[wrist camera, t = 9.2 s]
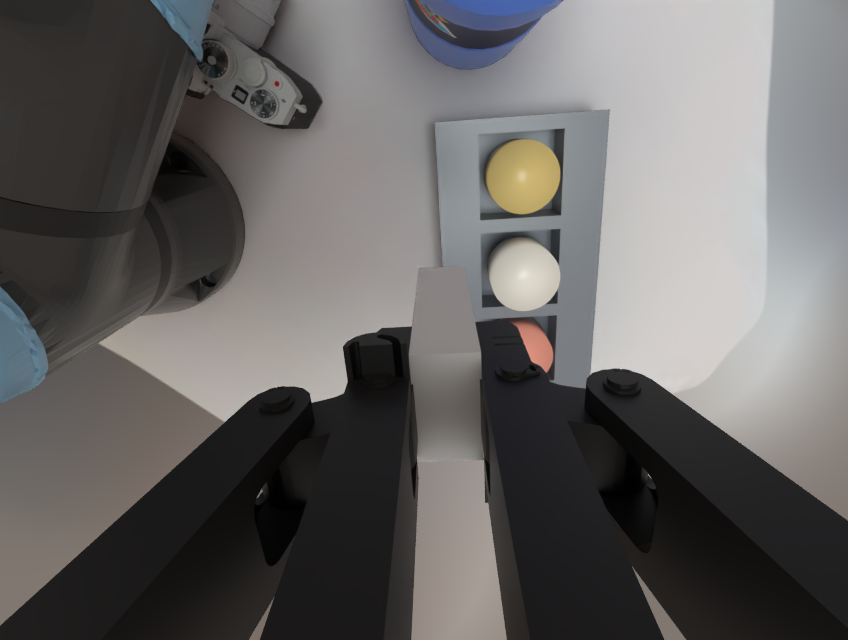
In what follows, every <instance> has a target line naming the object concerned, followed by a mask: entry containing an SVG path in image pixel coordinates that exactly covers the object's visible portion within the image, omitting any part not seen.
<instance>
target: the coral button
mask: <svg viewBox="0 0 848 640" xmlns="http://www.w3.org/2000/svg"><path fill="white" fill-rule="evenodd" d="M501 320H507V321H509V322H510V323H512V324H514V325H515V326H517V327H518V330H519V332H520V335H521V337H522V339H523V342H524V344H525V347H526V349H527V352H528V354H529V357H530V359H531V361H532V362H533V363H535V364H537V365H539V366H541V367H542V368H543V369H544V371H545V372H546V373H547V371H548V370H549V368H550V367H551V364H552V361H553V350H552V346H551V344H550V342H549V340H548V339H547V337H546V335H545V333H544V331H543V329H542V327H541V326H540V324H539V323H538V322H537V321H536V320H534V319H533V318H531V317H515V318H502V319H500V320H499V321H501Z"/></svg>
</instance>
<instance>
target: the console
mask: <svg viewBox="0 0 848 640" xmlns="http://www.w3.org/2000/svg"><path fill="white" fill-rule="evenodd" d="M609 113H610V109H609V110H595V111H582V112H568V113H555V114H541V115H527V116H514V117H500V118H487V119H473V120H460V121H446V122H435V138H436V156H437V174H438V193H439V211H440V229H441V247H442V266H443V267H450V266H464V270H465V275H466V280H467V285H468V290H469V294H470V299H471V304H472V309H473V314H474V319H475V322H483V321H499V320H500V319H502V318H515V317H531V318H533V319H534V320H536V321H537V322H538V323H539V324H540V326H541V327H542V329H543V331H544V333H545V335H546V337H547V339H548V340H549V342H550V344H551V346H552V350H553V361H552V364H551V367H550V368H549V370H548V371H547V373H546V374H547V376H548V379H549V381H550V382H553V383H556V384H559V385H564V386H570V387H578V388H586V381H587V378H588V377H589V376H590V370H591V357H592V343H593V330H594V316H595V303H596V289H597V276H598V262H599V248H600V235H601V221H602V208H603V194H604V181H605V167H606V154H607V140H608V127H609ZM512 139H529V140H535V141H538V142H541V143H543V144H544V145H546V146H547V147H549V148H550V149H551V150H552V152H553V153H554V154H555V156H556V158H557V160H558V162H559V166H560V182H559V186H558V189H557V191H556V193H555V195H554V196H553V198H552V199H551V200H550V201H549V202H548V203H547V204H546V205H545V206H544V207H542V208H541V209H539V210H537V211H535V212H532V213H529V214H514V213H511V212H508V211H506V210H504V209H503V208H501V207H500V206H499V205H498V204H497V203H496V202H495V201H494V199H493V198H492V197H491V196H490V194H489V193H488V191H487V189H486V186H485V182H484V168H485V164H486V162H487V159H488V157H489V156H490V154H491V153H492V152H493V150H494V149H495V148H496V147H498V146H499V145H500V144H502V143H504V142H506V141H508V140H512ZM514 236H527V237H531V238H533V239H536V240H537V241H539V242H540V243H541V244H542V245H543V246H544V247H545V248H546V249H547V250H548V251H549V252H550V253H551V255H552V256H553V257H554V258H555V260H556V261H557V263H558V265H559V269H560V283H559V287H558V289H557V291H556V293H555V295H554V296H553V297H552V298H551V299H550V301H548V302H547V303H546V304H545V305H543V306H541V307H539V308H537V309H534V310H530V311H516V310H512V309H510V308H508V307H506V306H504V305H503V304H502V303H501V302H500V301H499V300H498V299H497V298H496V296H495V294H494V292H493V289H492V287H491V284H490V281H489V278H488V274H487V263H488V259H489V256H490V254H491V252H492V251H493V249H494V248H495V247H496V246H497V245H498V244H499V243H501V242H502V241H504V240H506V239H508V238H510V237H514Z"/></svg>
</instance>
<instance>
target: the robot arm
mask: <svg viewBox="0 0 848 640" xmlns="http://www.w3.org/2000/svg"><path fill="white" fill-rule="evenodd" d="M213 1H214V0H0V403H2V402H5V401H7V400H9V399H11V398H13V397H15V396H17V395H19V394H21V393H24V392H27V391H30V390H31V389H33V388H34V387H36V386H38V385H39V384H40V382H41V381H43V380H44V378H45V377H46V376H48V375H49V374H51V373H52V372H54V371H55V370H57V369H59V368H60V367H62V366H63V365H65V364H66V363H68V362H69V361H71V360H72V359H74V358H76V357H77V356H79V355H80V354H81V353H83V352H85V351H86V350H88V349H90V348H91V347H93V346H94V345H96V344H97V343H99V342H100V341H102V340H104V339H105V338H107V337H108V336H110V335H111V334H113V333H114V332H116V331H118V330H119V329H121V328H122V327H124V326H125V325H127V324H128V323H130V322H131V321H133V320H135V319H136V318H137V317H139V316H143V315H151V314H160V313H169V312H176V311H181V310H184V309H187V308H190V307H193V306H195V305H197V304H199V303H201V302H203V301H204V300H206V299H207V298H209V297H210V296H211V295H213V294H214V293H216V292H217V291H218V290H219V289H221V288H222V287H223V286H224V285H225V284H226V283H227V282H228V281H229V279H230V278H231V277H232V275H233V274H234V272H235V270H236V268H237V266H238V264H239V262H240V259H241V256H242V252H243V247H244V221H243V215H242V211H241V207H240V204H239V201H238V199H237V196H236V194H235V192H234V190H233V188H232V186H231V184H230V182H229V181H228V179H227V177H226V176H225V174H224V173H223V172H222V170H221V169H220V168H219V167H218V165H217V164H216V163H215V162H214V161H213V160H212V159H211V158H210V157H209V156H208V155H207V154H206V153H205V152H204V151H202V150H201V149H200V148H199V147H197V146H196V145H195V144H193V143H192V142H190V141H189V140H187V139H185V138H184V137H182V136H180V135H178V134H176V133H173V132H172V131H173V128H174V126H175V123H176V120H177V117H178V114H179V111H180V109H181V106H182V103H183V100H184V97H185V94H186V92H187V89H188V86H189V83H190V80H191V77H192V75H193V72H194V69H195V66H196V63H197V61H198V62H201V60H202V58H203V49H202V46H201V44H202V40H203V36H204V33H205V29H206V26H207V22H208V19H209V15H210V11H211V8H212V4H213ZM343 351H344V358H345V365H346V371H347V378H348V383H347V386H346V389H345V392H344V394H342V395H340V396H337V397H334V398H331V399H327V400H323V401H318V402H314V403H311V398H310V394H309V392H307V391H306V390H305V389H303V388H298V387H285V386H282V387H277V388H276V387H275V388H272V389H269V390H267V391H265V392H263V393H260V394H258V395H256V396H255V397H254V398H252V399H251V400H249V401H248V402H247V403H246V404H245V405H244V406H242V407H241V408H240V409H239V410H238V411H237V412H236V413H235V414H234V415H233V416H231V417H230V418H229V419H228V420H227V421H226V422H225V423H224V424H223V425H221V426H220V427H219V428H218V429H217V430H216V431H215V432H214V433H213V434H212V435H210V436H209V437H208V438H207V439H206V440H205V441H204V442H203V443H202V444H200V445H199V446H198V447H197V448H196V449H195V450H194V451H193V452H192V453H191V454H189V455H188V456H187V457H186V458H185V459H184V460H183V461H182V462H181V463H179V464H178V465H177V466H176V467H175V468H174V469H173V470H172V471H171V472H170V473H169V474H167V475H166V476H165V477H164V478H163V479H162V480H161V481H160V482H159V483H157V484H156V485H155V486H154V487H153V488H152V489H151V490H150V491H149V492H147V494H145V495H144V496H143V497H142V498H141V499H140V500H139V501H137V503H135V504H134V505H133V506H132V507H131V508H130V509H129V510H128V511H127V512H125V513H124V514H123V515H122V516H121V517H120V518H119V519H118V520H117V521H115V522H114V523H113V524H112V525H111V526H110V527H109V528H108V529H107V530H105V531H104V532H103V533H102V534H101V535H100V536H99V537H98V538H97V539H96V540H94V542H92V543H91V544H90V545H89V546H88V547H87V548H86V549H85V550H83V551H82V552H81V553H80V554H79V555H78V556H77V557H76V558H75V559H73V560H72V561H71V562H70V563H69V564H68V565H67V566H66V567H65V568H63V569H62V570H61V571H60V572H59V573H58V574H57V575H56V576H55V577H54V578H52V579H51V580H50V581H49V582H48V583H47V584H46V585H45V586H44V587H43V588H42V589H40V590H39V591H38V592H37V593H36V594H35V595H34V596H33V597H32V598H30V599H29V600H28V601H27V602H26V603H25V604H24V605H23V606H22V607H20V608H19V609H18V610H17V611H16V612H15V613H14V614H13V615H12V616H11V617H9V618H8V619H7V620H6V621H5V622H4V623H3V624H2V625H1V626H0V640H249V638H250V636H251V635H252V633H253V631H254V630H255V628H256V626H257V625H258V623H259V621H260V620H261V618H262V616H263V615H264V613H265V611H266V610H267V608H268V606H269V605H270V603H271V601H272V600H273V598H274V600H273V603H272V606H271V609H270V612H269V615H268V618H267V621H266V623H265V626H264V629H263V632H262V635H261V638H260V640H411V632H412V631H411V630H412V610H413V588H414V565H415V545H416V544H415V542H416V522H417V500H418V479H419V478H418V466H417V455H418V462H419V463H420V462H446V461H471V460H484V471H485V502H486V503H488V504H489V511H490V518H491V526H492V533H493V540H494V548H495V555H496V563H497V570H498V577H499V584H500V591H501V599H502V606H503V614H504V621H505V629H506V636H507V640H664V638H663V636H662V633H661V631H660V629H659V627H658V625H657V622H656V620H655V618H654V615H653V613H652V611H651V609H650V606H649V604H648V602H647V600H646V597H645V595H644V593H643V591H642V588H641V586H640V584H639V582H638V579H637V577H636V575H635V572H634V570H633V568H634V569H635V571H636V572H637V573H638V575H639V576H640V577H641V579H642V580H643V581H644V583H645V584H646V585H647V587H648V588H649V590H650V591H651V592H652V594H653V595H654V596H655V598H656V599H657V600H658V602H659V603H660V604H661V606H662V607H663V608H664V610H665V611H666V613H667V614H668V615H669V617H670V618H671V619H672V621H673V622H674V623H675V624H676V626H677V627H678V629H679V630H680V631H681V633H682V634H683V636H684V637H685V638H686V640H848V521H847V520H846V519H845V518H843V517H842V516H840V515H839V514H838V513H836V512H835V511H834V510H832V509H831V508H829V507H828V506H826V505H825V504H824V503H822V502H821V501H820V500H818V499H817V498H815V497H814V496H813V495H811V494H810V493H809V492H807V491H806V490H804V489H803V488H802V487H800V486H799V485H797V484H796V483H795V482H793V481H792V480H790V479H789V478H788V477H786V476H785V475H784V474H782V473H781V472H779V471H778V470H777V469H775V468H774V467H772V466H771V465H770V464H768V463H767V462H765V461H764V460H763V459H761V458H760V457H759V456H757V455H756V454H754V453H753V452H751V451H750V450H749V449H747V448H746V447H745V446H743V445H742V444H741V443H739V442H738V441H736V440H735V439H734V438H732V437H731V436H729V435H728V434H727V433H725V432H724V431H722V430H721V429H720V428H718V427H717V426H715V425H714V424H713V423H711V422H710V421H708V420H707V419H706V418H704V417H703V416H701V415H700V414H699V413H697V412H696V411H695V410H693V409H692V408H691V407H689V406H688V405H686V404H685V403H683V402H682V401H681V400H679V399H678V398H677V397H675V396H674V395H672V394H671V393H670V392H668V391H667V390H666V389H664V388H663V387H661V386H660V385H659V384H657V383H656V382H654V381H653V380H652V379H650V378H648V377H646V376H644V375H642V374H639V373H635V372H632V371H630V370H626V369H622V370H620V369H609V370H601V371H598V372H595V373H592V374H591V375H590V376H589V377H588V378H587V381H586V388H578V387H570V386H564V385H559V384H556V383H553V382H550V381H549V379H548V376H547V374H546V372H545V371H544V369H543V368H542V367H541V366H539V365H537V364H535V363H533V362H532V361H531V359H530V357H529V354H528V352H527V349H526V347H525V344H524V342H523V339H522V337H521V335H520V332H519V330H518V327H517V326H515V325H514V324H512V323H510V322H509V321H507V320H501V321H483V322H475V319H474V314H473V309H472V304H471V299H470V294H469V290H468V285H467V280H466V275H465V270H464V266H450V267H433V268H419V273H418V282H417V290H416V298H415V307H414V315H413V323H412V327H396V328H382V329H380V330H379V331H378V332H376V333H368V334H364V335H361V336H357V337H355V338H353V339H351V340H349V341H347V343H346V344H345V345H344V346H343ZM648 474H649V475H650V476H651V478H652V479H651V478H650V477H649V476H648ZM261 489H262V490H263V492H262V493H261V494H260V496H259V497H258V498H257V496H258V494H259V492H260V490H261ZM256 498H257V499H256ZM631 565H632V566H631ZM632 567H633V568H632ZM274 596H275V597H274Z"/></svg>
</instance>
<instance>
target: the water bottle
mask: <svg viewBox="0 0 848 640" xmlns="http://www.w3.org/2000/svg"><path fill="white" fill-rule="evenodd" d="M562 1H563V0H405V3H406V7H407V11H408V15H409V18H410V21H411V25H412V28H413V30H414V32H415V34H416V36H417V38H418V40H419V42H420V43H421V44H422V45H423V47H424V48H425V49H426V51H427V52H428V53H430V54H431V55H432V56H433V57H434V58H435V59H437V60H438V61H440V62H442V63H444V64H446V65H448V66H451V67H455V68H458V69H477V68H483V67H485V66H488V65H490V64H493V63H495V62H497V61H498V60H500V59H501V58H503V57H504V56H505V55H507V54H508V53H509V52H510V51H511V50H512V49H513V48H514V47H515V46H516V45H517V44H518V43H519V42H520V41H521V39H522V38H523V37H524V36H525V35H526V34H527V33H528V32H529V31H530V30H531V29H532V28H533V27H534V26H535V24H536V23H537V22H538V21H539V20H540V18H541V17H542V16H543V15H545V14H546V13H548V12H549V11H551V10H552V9H554V8H555V7H557V6H558V5H559V4H560V3H561V2H562Z"/></svg>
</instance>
